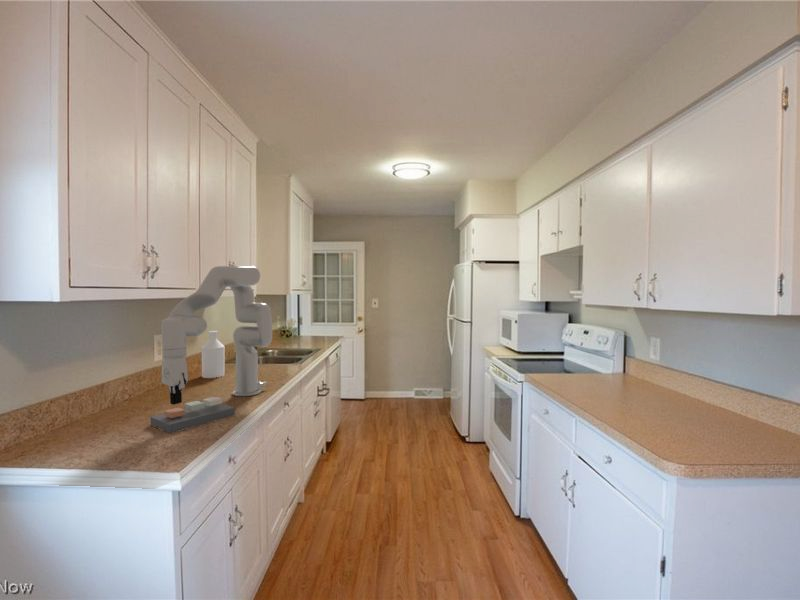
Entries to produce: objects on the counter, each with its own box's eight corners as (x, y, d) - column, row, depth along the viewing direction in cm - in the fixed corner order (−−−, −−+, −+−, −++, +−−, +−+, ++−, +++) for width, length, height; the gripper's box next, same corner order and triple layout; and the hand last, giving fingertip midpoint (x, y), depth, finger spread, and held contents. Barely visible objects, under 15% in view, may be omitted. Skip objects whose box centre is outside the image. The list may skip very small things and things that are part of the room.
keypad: (214, 408, 161) (214, 401, 161) (234, 415, 153) (234, 407, 153) (150, 425, 142) (150, 416, 142) (169, 433, 134) (169, 424, 134)
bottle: (197, 376, 222) (197, 331, 221) (218, 372, 231) (218, 329, 230) (207, 379, 214) (207, 332, 213) (228, 375, 223) (228, 331, 222)
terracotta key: (178, 412, 145) (178, 407, 145) (184, 414, 142) (184, 409, 142) (164, 415, 141) (164, 410, 141) (170, 418, 138) (170, 413, 138)
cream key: (214, 401, 156) (214, 396, 156) (221, 403, 154) (221, 398, 154) (203, 404, 153) (202, 399, 153) (209, 406, 150) (209, 401, 150)
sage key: (197, 405, 151) (197, 400, 151) (204, 407, 148) (204, 402, 148) (184, 408, 147) (184, 403, 147) (191, 410, 144) (191, 405, 144)
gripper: (153, 352, 143) (155, 402, 144) (173, 356, 134) (175, 410, 135) (175, 349, 149) (176, 397, 150) (195, 353, 140) (197, 404, 141)
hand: (176, 403), depth 142 cm, fingers closed
